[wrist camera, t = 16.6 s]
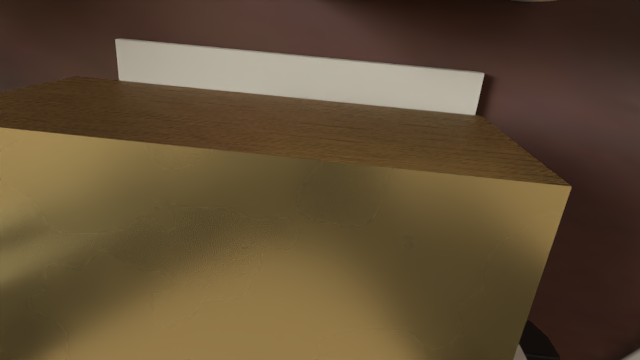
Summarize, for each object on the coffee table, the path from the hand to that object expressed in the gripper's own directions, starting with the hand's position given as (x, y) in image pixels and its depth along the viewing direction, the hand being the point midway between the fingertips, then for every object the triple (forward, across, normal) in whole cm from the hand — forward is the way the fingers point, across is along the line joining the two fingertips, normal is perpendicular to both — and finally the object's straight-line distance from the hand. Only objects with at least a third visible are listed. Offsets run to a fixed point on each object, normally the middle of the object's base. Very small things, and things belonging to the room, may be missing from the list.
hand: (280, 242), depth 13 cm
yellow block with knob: (-2, 0, 0) cm, 2 cm away
